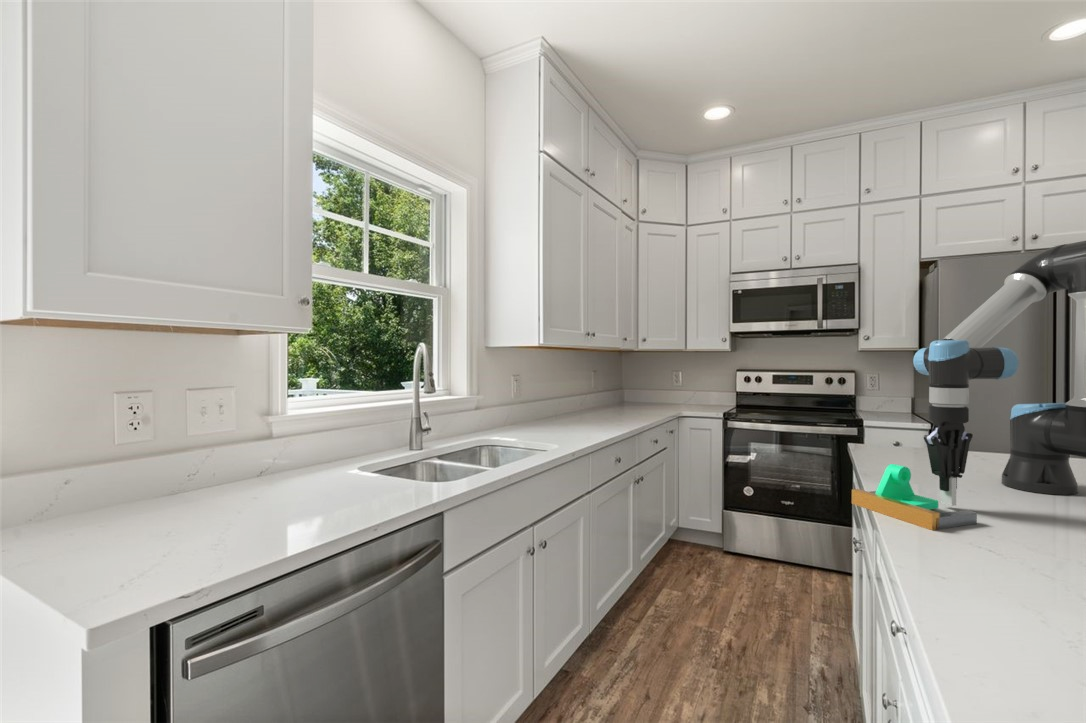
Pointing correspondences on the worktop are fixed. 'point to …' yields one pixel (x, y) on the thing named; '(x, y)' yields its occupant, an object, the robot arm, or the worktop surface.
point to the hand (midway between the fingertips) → (948, 503)
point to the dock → (912, 511)
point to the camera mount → (902, 488)
